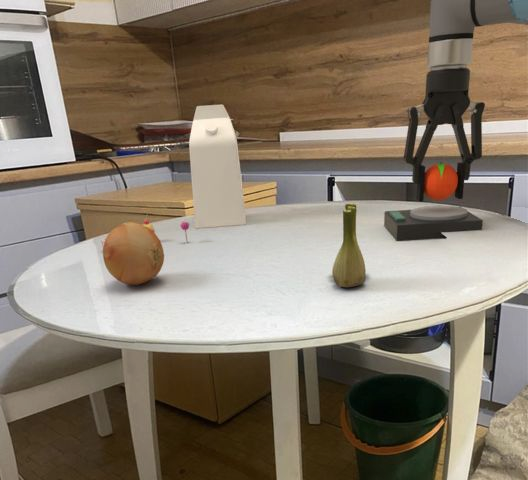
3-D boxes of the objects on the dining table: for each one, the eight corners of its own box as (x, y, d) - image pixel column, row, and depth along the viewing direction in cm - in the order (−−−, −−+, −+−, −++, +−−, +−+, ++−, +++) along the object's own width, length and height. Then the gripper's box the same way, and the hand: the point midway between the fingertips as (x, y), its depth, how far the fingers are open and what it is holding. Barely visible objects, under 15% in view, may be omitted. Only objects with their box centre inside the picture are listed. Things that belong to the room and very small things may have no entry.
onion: (152, 293, 83) (142, 229, 79) (97, 292, 86) (84, 230, 82) (178, 274, 92) (169, 216, 87) (126, 273, 94) (116, 216, 90)
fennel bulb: (351, 293, 77) (351, 209, 72) (323, 287, 80) (322, 206, 75) (373, 282, 81) (374, 202, 76) (346, 277, 84) (346, 199, 79)
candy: (104, 255, 108) (98, 225, 105) (102, 247, 114) (96, 218, 112) (191, 242, 112) (188, 213, 110) (184, 235, 119) (180, 207, 117)
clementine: (459, 203, 102) (462, 164, 99) (421, 204, 103) (423, 166, 100) (455, 196, 109) (457, 159, 106) (419, 197, 110) (421, 161, 107)
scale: (459, 220, 114) (460, 202, 113) (481, 235, 102) (483, 215, 100) (384, 225, 115) (384, 207, 114) (396, 240, 103) (397, 221, 101)
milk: (245, 215, 136) (236, 103, 125) (245, 224, 126) (236, 103, 115) (199, 218, 136) (186, 107, 125) (195, 228, 126) (180, 107, 115)
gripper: (497, 65, 99) (483, 192, 109) (389, 73, 100) (385, 198, 110) (512, 63, 92) (496, 199, 102) (397, 71, 93) (392, 205, 103)
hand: (439, 198), depth 106 cm, fingers closed on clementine, 7 cm apart
